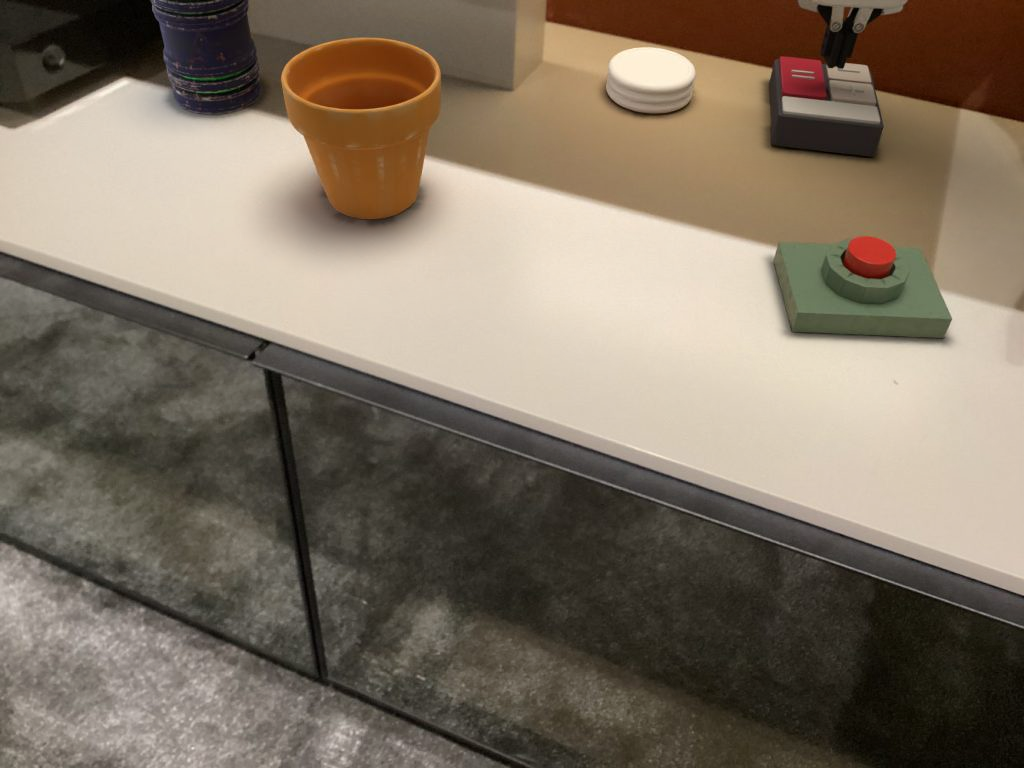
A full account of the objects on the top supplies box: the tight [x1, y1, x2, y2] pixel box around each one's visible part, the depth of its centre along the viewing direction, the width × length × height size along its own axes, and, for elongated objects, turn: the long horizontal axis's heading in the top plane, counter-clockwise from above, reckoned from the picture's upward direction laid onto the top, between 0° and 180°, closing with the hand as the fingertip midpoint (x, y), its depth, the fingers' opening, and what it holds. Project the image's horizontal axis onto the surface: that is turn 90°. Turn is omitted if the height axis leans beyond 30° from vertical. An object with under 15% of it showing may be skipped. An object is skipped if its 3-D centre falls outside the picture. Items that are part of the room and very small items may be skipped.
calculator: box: [769, 55, 885, 158], centre depth 107 cm, size 11×4×15 cm
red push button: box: [843, 235, 896, 279], centre depth 83 cm, size 4×4×2 cm
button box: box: [773, 238, 953, 339], centre depth 85 cm, size 13×10×4 cm
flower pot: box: [280, 37, 442, 220], centre depth 91 cm, size 14×14×13 cm
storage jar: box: [150, 0, 263, 115], centre depth 104 cm, size 10×10×15 cm
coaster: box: [605, 46, 697, 115], centre depth 110 cm, size 10×10×4 cm
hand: (833, 62), depth 104 cm, fingers closed
